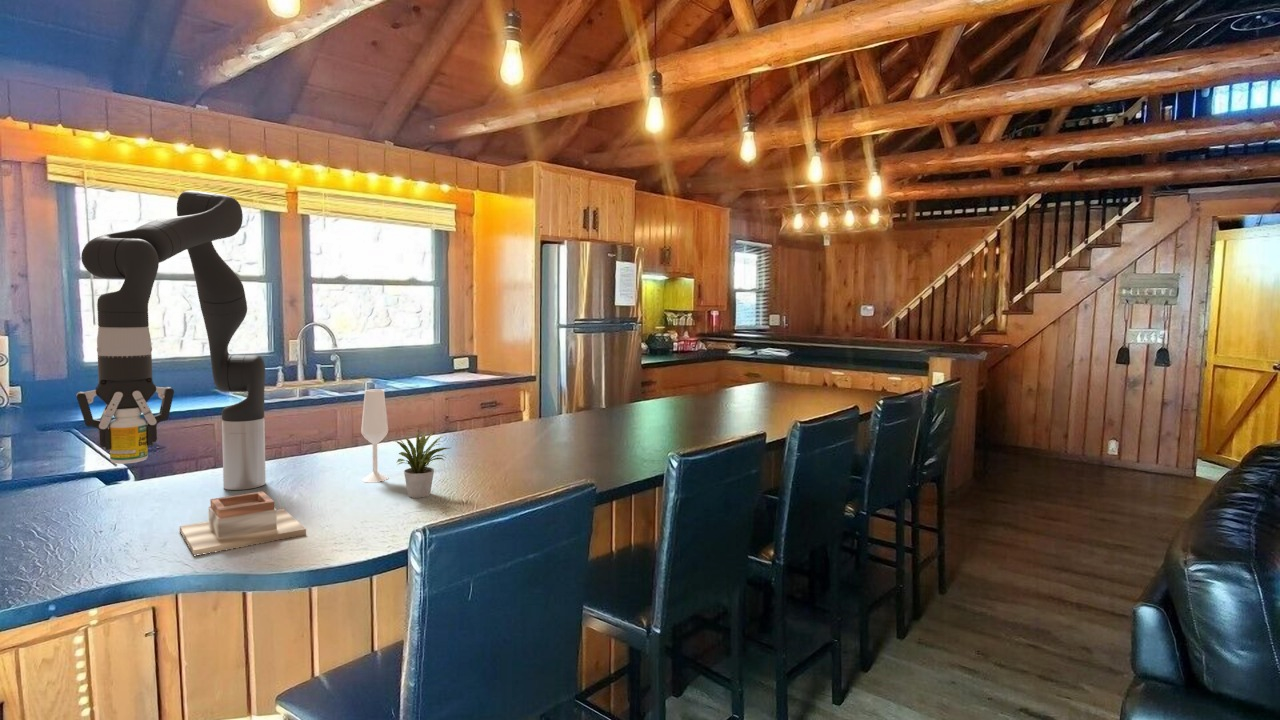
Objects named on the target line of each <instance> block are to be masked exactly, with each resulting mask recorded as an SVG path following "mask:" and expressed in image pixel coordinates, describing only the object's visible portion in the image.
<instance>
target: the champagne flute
mask: <svg viewBox="0 0 1280 720" xmlns="http://www.w3.org/2000/svg"><path fill="white" fill-rule="evenodd" d="M363 395H364V396H363V397H364V398H363V408H362V418H361V419H362V420H361V429H360V433H361V435H362V437H364V439H365V440H366V441H368V442H369V443H370V444H372V472H371V473H370V474H368V475H367V476H365V477H364V478H362V479H361V481H362V482H364V483H379V482H380V481H382V482H385V481H387V480H386V479H388V480H389V477H388V476H386V475H384V474H382V473H380V472H378V444H379V443H380V442H382V440H383V439H384V438H386V437H387V435H388V433H389V423H388V415H387V413H388V412H387V404H386V397H385V396H386V395H385V390H384V389H381V388H377V389H376V388H375V389H374V388H373V389H365V390H364V394H363ZM384 480H385V481H384Z"/></svg>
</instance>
